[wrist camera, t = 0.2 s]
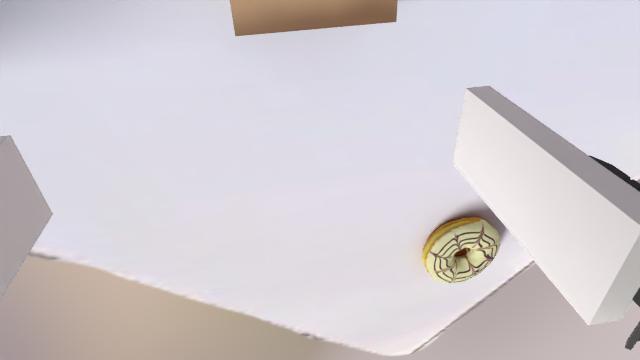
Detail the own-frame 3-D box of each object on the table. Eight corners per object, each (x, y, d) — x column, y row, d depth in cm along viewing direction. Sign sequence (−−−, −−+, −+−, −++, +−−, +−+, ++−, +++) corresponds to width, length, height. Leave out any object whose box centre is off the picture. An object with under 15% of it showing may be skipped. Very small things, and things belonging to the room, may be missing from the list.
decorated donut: (498, 245, 59) (512, 264, 56) (432, 278, 61) (443, 297, 57) (480, 199, 53) (495, 217, 50) (408, 236, 55) (418, 256, 52)
